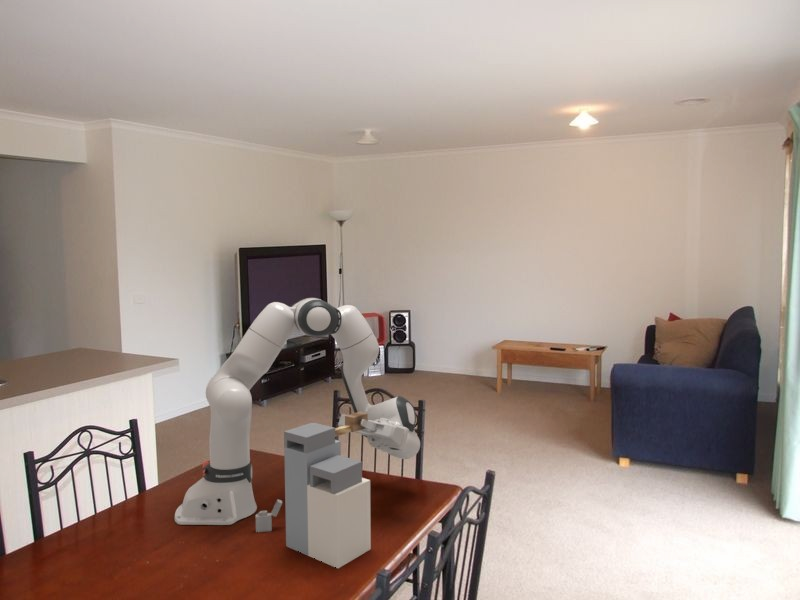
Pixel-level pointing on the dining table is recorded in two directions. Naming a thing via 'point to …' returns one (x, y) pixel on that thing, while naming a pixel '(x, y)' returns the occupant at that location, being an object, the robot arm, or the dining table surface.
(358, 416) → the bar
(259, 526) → the lighter
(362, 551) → the stand
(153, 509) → the dining table surface
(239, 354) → the robot arm
